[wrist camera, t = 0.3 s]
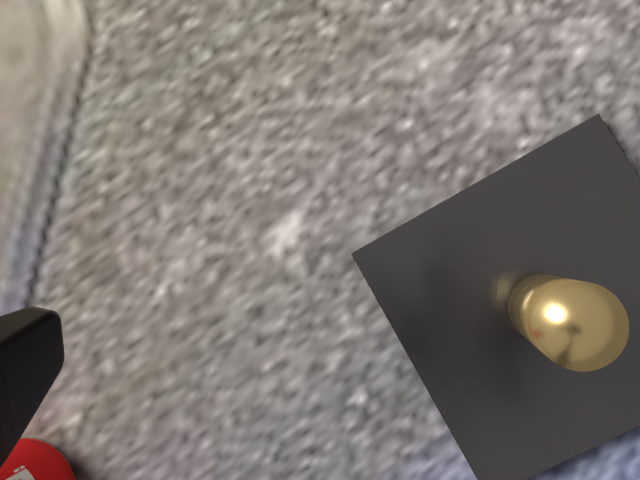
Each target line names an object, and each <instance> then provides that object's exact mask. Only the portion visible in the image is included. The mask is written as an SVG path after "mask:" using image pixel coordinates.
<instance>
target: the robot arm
mask: <svg viewBox="0 0 640 480" xmlns="http://www.w3.org/2000/svg"><path fill="white" fill-rule="evenodd" d="M63 362H64V345H63V335H62V326H61V319H60V316H59V314H58V313H57V312H55V311H53V310H48V309H43V308H38V307H27V308H24V309H21V310H18V311H15V312H12V313H9V314H6V315H3V316H0V468H1V467H2V466H3V464H4V463H5V461H6V460H7V459H8V457H9V455H10V454H11V452H12V451H13V449H14V448H15V446H16V444H17V443H18V441H19V439H20V438H21V436H22V434H23V433H24V431H25V429H26V428H27V426H28V424H29V423H30V421H31V419H32V418H33V416H34V414H35V413H36V411H37V409H38V408H39V406H40V404H41V403H42V401H43V399H44V398H45V396H46V394H47V393H48V391H49V389H50V388H51V386H52V384H53V383H54V381H55V379H56V378H57V376H58V374H59V372H60V371H61V368H62V366H63Z"/></svg>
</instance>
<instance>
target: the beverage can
mask: <svg viewBox="0 0 640 480" xmlns="http://www.w3.org/2000/svg"><path fill="white" fill-rule="evenodd" d="M0 480H76V477H75V474H74V471H73V469H72V466H71V465H70V463H69V461H68V460H67V458H66V457H65V456H64V455H63V453H62V452H61V451H60V450H58V449H57V448H56V447H55V446H53V445H52V444H50V443H48V442H46V441H43V440H40V439H36V438H20V439H19V441H18V443H17V444H16V446H15V448H14V449H13V451H12V452H11V454H10V455H9V457H8V459H7V460H6V461H5V463H4V464H3V466H2V467H1V468H0Z"/></svg>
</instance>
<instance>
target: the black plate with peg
mask: <svg viewBox="0 0 640 480" xmlns="http://www.w3.org/2000/svg"><path fill="white" fill-rule="evenodd" d="M352 256H353V258H354V260H355V261H356V263H357V265H358V267H359V269H360V270H361V272H362V274H363V276H364V278H365V279H366V281H367V283H368V285H369V286H370V288H371V290H372V292H373V294H374V295H375V297H376V299H377V301H378V303H379V304H380V306H381V308H382V310H383V311H384V313H385V315H386V317H387V319H388V320H389V322H390V324H391V326H392V328H393V329H394V331H395V333H396V335H397V336H398V338H399V340H400V342H401V344H402V345H403V347H404V349H405V351H406V353H407V354H408V356H409V358H410V360H411V361H412V363H413V365H414V367H415V369H416V370H417V372H418V374H419V376H420V378H421V379H422V381H423V383H424V385H425V386H426V388H427V390H428V392H429V394H430V395H431V397H432V399H433V401H434V403H435V404H436V406H437V408H438V410H439V411H440V413H441V415H442V417H443V419H444V420H445V422H446V424H447V426H448V428H449V429H450V431H451V433H452V435H453V436H454V438H455V440H456V442H457V444H458V445H459V447H460V449H461V451H462V453H463V454H464V456H465V458H466V460H467V461H468V463H469V465H470V467H471V469H472V470H473V472H474V474H475V476H476V478H477V479H478V480H526V479H528V478H531V477H533V476H535V475H537V474H539V473H541V472H543V471H545V470H547V469H550V468H552V467H554V466H556V465H558V464H560V463H562V462H564V461H566V460H569V459H571V458H573V457H575V456H577V455H579V454H581V453H583V452H585V451H588V450H590V449H592V448H594V447H596V446H598V445H600V444H602V443H604V442H607V441H609V440H611V439H613V438H615V437H617V436H619V435H621V434H624V433H626V432H628V431H630V430H632V429H634V428H636V427H638V426H640V179H639V177H638V175H637V174H636V172H635V171H634V169H633V167H632V166H631V164H630V163H629V161H628V159H627V158H626V156H625V155H624V153H623V152H622V150H621V148H620V147H619V145H618V144H617V142H616V140H615V139H614V137H613V136H612V134H611V133H610V131H609V129H608V128H607V126H606V125H605V123H604V121H603V120H602V118H601V117H600V115H599V114H597V115H595V116H594V117H592V118H590V119H588V120H586V121H585V122H583V123H581V124H579V125H578V126H576V127H574V128H572V129H571V130H569V131H567V132H565V133H564V134H562V135H560V136H558V137H556V138H555V139H553V140H551V141H549V142H548V143H546V144H544V145H542V146H541V147H539V148H537V149H535V150H533V151H532V152H530V153H528V154H526V155H525V156H523V157H521V158H519V159H518V160H516V161H514V162H512V163H511V164H509V165H507V166H505V167H503V168H502V169H500V170H498V171H496V172H495V173H493V174H491V175H489V176H488V177H486V178H484V179H482V180H481V181H479V182H477V183H475V184H473V185H472V186H470V187H468V188H466V189H465V190H463V191H461V192H459V193H458V194H456V195H454V196H452V197H451V198H449V199H447V200H445V201H443V202H442V203H440V204H438V205H436V206H435V207H433V208H431V209H429V210H428V211H426V212H424V213H422V214H420V215H419V216H417V217H415V218H413V219H412V220H410V221H408V222H406V223H405V224H403V225H401V226H399V227H398V228H396V229H394V230H392V231H390V232H389V233H387V234H385V235H383V236H382V237H380V238H378V239H376V240H375V241H373V242H371V243H369V244H368V245H366V246H364V247H362V248H360V249H359V250H357V251H355V252H353V253H352Z"/></svg>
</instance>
